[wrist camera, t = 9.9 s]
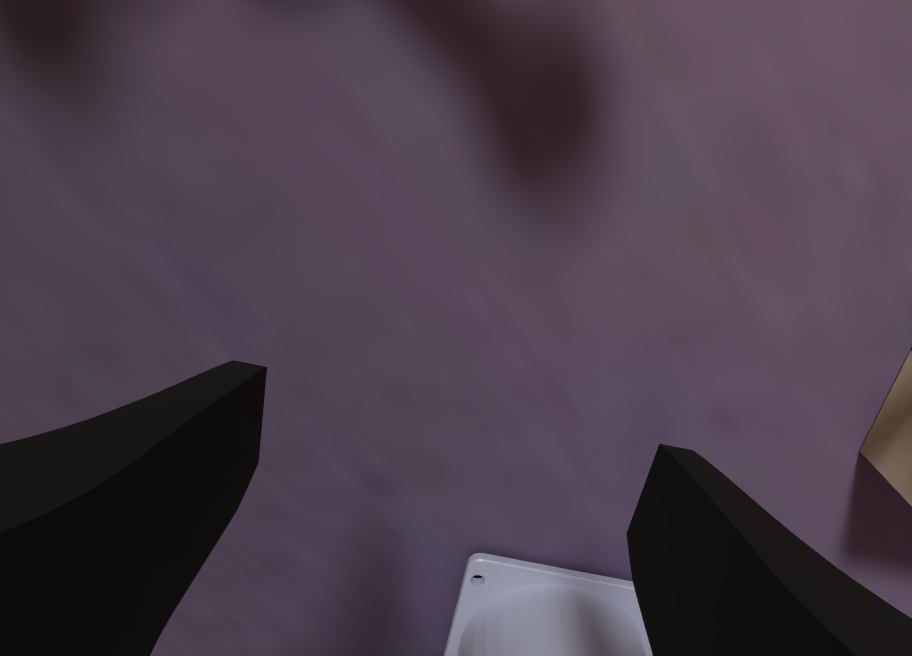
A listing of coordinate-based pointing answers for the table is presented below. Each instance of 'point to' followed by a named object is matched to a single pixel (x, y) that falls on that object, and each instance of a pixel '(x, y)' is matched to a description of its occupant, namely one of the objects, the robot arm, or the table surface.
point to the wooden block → (894, 435)
